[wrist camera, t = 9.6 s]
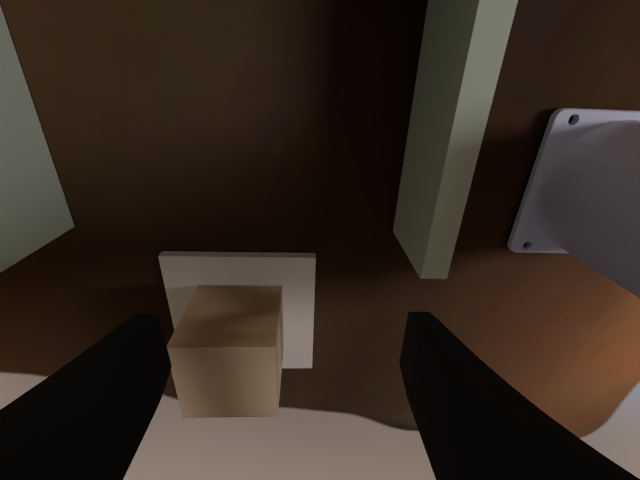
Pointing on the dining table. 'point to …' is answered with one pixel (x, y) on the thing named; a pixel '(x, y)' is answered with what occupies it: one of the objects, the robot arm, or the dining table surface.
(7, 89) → the green u-shaped wall
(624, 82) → the dining table surface
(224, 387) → the oak block
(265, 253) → the coaster
